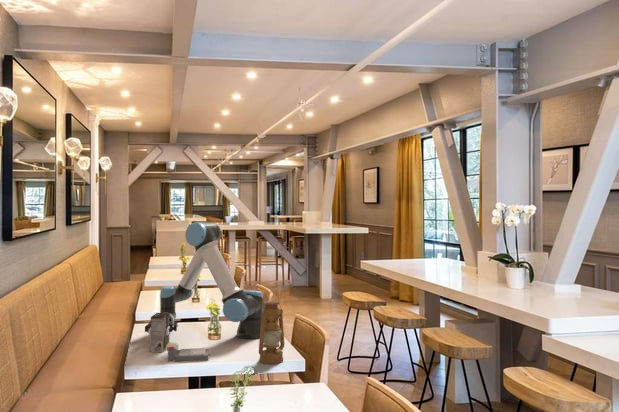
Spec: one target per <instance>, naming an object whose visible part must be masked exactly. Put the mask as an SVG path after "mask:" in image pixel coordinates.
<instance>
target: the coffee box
mask: <svg viewBox="0 0 619 412" xmlns="http://www.w3.org/2000/svg"><path fill="white" fill-rule="evenodd" d="M150 322H151V336H150V353H165V351H167V350H166V346H167V344H168V343H170V334H169V335H166V330H167V328H168V326H169V313H160V312H156V313H154V314H153V315H152V316H150Z"/></svg>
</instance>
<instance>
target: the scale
mask: <svg viewBox="0 0 619 412" xmlns="http://www.w3.org/2000/svg"><path fill="white" fill-rule="evenodd" d="M180 350H181V349H179V345H178V344H177V342H173V341H169V343H168V344H167V346H166V350H165V351H167V362H174V363H177V362H178V363H179V362H201V361H202V362H203V361H204V362H207V361H209V356H210V348H206V351H205V355H197V356H179V352H180Z"/></svg>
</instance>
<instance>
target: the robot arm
mask: <svg viewBox="0 0 619 412" xmlns="http://www.w3.org/2000/svg"><path fill="white" fill-rule="evenodd" d="M221 230H222V229H221V227H220V226H219V225H218V224H217V223H216V222H214V221H210V220H209V221H196V222H193V223H191V224H189V225H188V226H187V228H186V230H185V232H184V233H185V234H184V235H185V236H184V237H185V241H186V242H187V243H188V245H190V247H191V246H192V247H193V248H194V249H195V252H194V255H193V256H192V259H191V260H190V262H189V265H188V266H187V268H186V269H185V272H184V274H183V275H182V278H181V280H180V281H179V283H178V285H177V287H175V286H173V285H167V286H162V287H161V288H160V293H159V299H160V300H159V301H160V302H159V303H160V309H159V310H160V311H159V313H169V326H168V328H167V330H166V335H169V336H170V334H171V333H172V332H173V331H174V332H177V330H178V325H179V324H178V323H179V321H178V320H176V318H177V313H176V304H177V303H180V302H183V301H186V300H189V299H190V298H192V296H193V294H194V293H193V289H194V287H195V285H196V282H197V280H198V278H199V277H200V275H201V273H202V271H203V269H204V267H205V265H206V266H207V268H208V270H209V271H210V273H211V275H212V277H213V279H214V282H215V283H216V286H217V287H218V290H219V291H220V293H221V295H222V297H221V302H222V304H223V306H222V314H223V316H224V317H225V318H226V320H228V321H229V322H232V323H239V324H238V327H237V329H236V337H237V336H238V338H240V339H247V340H249V339H250V340H251V339H260V328H261V315H262V313H263V308H264V304H263V302H264V293H263V292H262V291H261V290H247V289H246V290H245V289H243V288H241V287H239V286H238V285H237V283H236V281H235V279H234V277H233V275H232V273H231V270H230V268H229V267H228V265H227V262H226V261H225V259H224V256H223V255H222V254H221V252H220V250H219V248H218V245H219V243H220V241H221V237H222V231H221ZM175 320H176V321H175ZM144 333H147V334H148V337H151V321H149V323H148V324H146V325H145V326H144Z"/></svg>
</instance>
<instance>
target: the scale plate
mask: <svg viewBox="0 0 619 412" xmlns="http://www.w3.org/2000/svg"><path fill="white" fill-rule="evenodd" d="M206 349H207V348H206V347H197V348H194V347H193V348H181V349H179V350H180V352H179V356H197V355H205V351H206Z"/></svg>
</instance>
